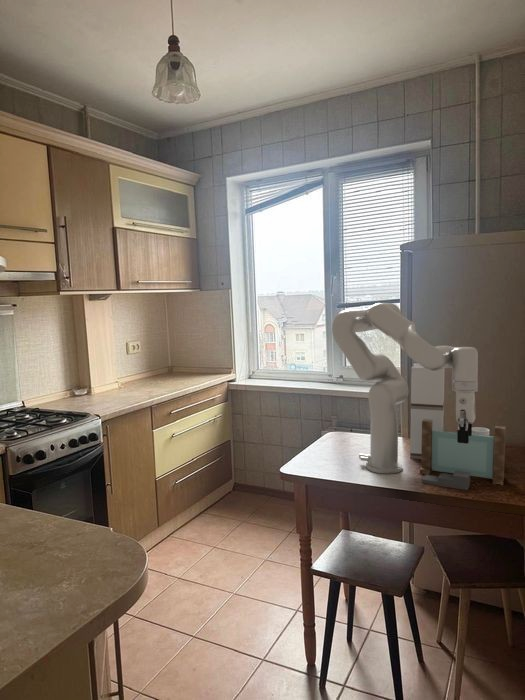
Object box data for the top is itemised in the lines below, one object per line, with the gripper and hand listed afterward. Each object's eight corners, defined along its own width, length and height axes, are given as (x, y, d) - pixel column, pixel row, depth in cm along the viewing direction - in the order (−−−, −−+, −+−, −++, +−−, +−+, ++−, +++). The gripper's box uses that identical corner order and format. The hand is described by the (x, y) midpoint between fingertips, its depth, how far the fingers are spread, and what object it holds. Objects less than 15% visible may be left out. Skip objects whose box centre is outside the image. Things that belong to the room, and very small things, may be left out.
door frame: (419, 473, 173) (420, 422, 171) (424, 466, 180) (424, 417, 178) (503, 485, 161) (504, 430, 159) (504, 477, 168) (505, 425, 166)
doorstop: (467, 491, 157) (467, 477, 157) (422, 483, 164) (422, 470, 164) (469, 486, 161) (470, 472, 161) (425, 479, 168) (425, 466, 168)
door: (431, 470, 174) (432, 431, 173) (432, 469, 176) (432, 430, 174) (492, 478, 165) (493, 437, 164) (492, 477, 167) (494, 436, 165)
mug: (483, 465, 181) (484, 432, 180) (465, 460, 186) (466, 429, 185) (495, 459, 187) (496, 427, 186) (478, 455, 192) (479, 424, 191)
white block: (442, 453, 196) (444, 364, 192) (441, 461, 186) (443, 368, 183) (412, 450, 200) (413, 363, 197) (410, 458, 190) (411, 367, 187)
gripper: (475, 390, 148) (474, 447, 150) (480, 382, 164) (479, 434, 165) (448, 389, 152) (448, 444, 153) (455, 381, 167) (455, 432, 168)
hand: (464, 439), depth 159 cm, fingers open, 9 cm apart
